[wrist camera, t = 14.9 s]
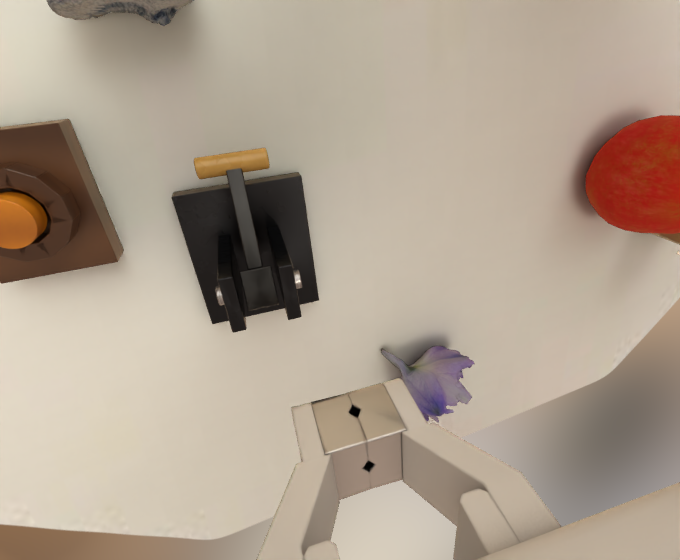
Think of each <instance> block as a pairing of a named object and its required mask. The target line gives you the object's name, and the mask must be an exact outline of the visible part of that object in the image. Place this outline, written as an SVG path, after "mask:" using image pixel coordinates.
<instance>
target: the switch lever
mask: <svg viewBox="0 0 680 560" xmlns="http://www.w3.org/2000/svg"><path fill="white" fill-rule="evenodd" d="M194 165H195V170H196V173H197V176H198V178H199V179H205V178H211V177H218V176H224V175H227V178H228V183H229V187H230V192H231V196H232V201H233V206H234V210H235V215H236V219H237V224H238V228H239V233H240V237H241V242H242V246H243V251H244V255H245V260H246V264H247V269H248V270H244V271H241V272H240V277H241V281H242V286H243V290H244V295H245V299H246V304H247V308H248V311H251V310H255V309H260V308H264V307H269V306H273V305H278V304H279V301H278V296H277V291H276V287H275V282H274V278H273V273H272V268H271V266H270V265H268V266H263V264H262V259H261V255H260V250H259V246H258V241H257V236H256V232H255V227H254V222H253V218H252V213H251V209H250V204H249V199H248V195H247V190H246V186H245V181H244V176H243V172H249V171H256V170H262V169H268V168H269V159H268V155H267V150H266V148H260V149H253V150H246V151H239V152H232V153H226V154H219V155H212V156H205V157H198V158H194Z"/></svg>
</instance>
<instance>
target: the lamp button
mask: <svg viewBox="0 0 680 560" xmlns="http://www.w3.org/2000/svg"><path fill="white" fill-rule="evenodd" d="M46 227H47V215H46V212H45V210H44V209H43V207H42V206H41V205H40V204H39V203H38V202H37V201H36V200H34V199H33V198H31V197H29V196H27V195H25V194H22V193H18V192H2V193H0V247H2V248H7V249H18V248H23V247H26V246H28V245H30V244H31V243H32V242H33V241H34V240H35V239H36V238H38V237H39V236H40V235H41V234H42V233H43V232H44V230H45V229H46Z"/></svg>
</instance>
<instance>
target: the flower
mask: <svg viewBox="0 0 680 560" xmlns="http://www.w3.org/2000/svg"><path fill="white" fill-rule="evenodd" d="M381 353H382V354H383V355H384V356H385V357H386V358H387V359H388V360H389V361H390V362H391V363H392V364H393V365H394V366H395V367H397V368H398V369H400V371H401V373H402V377H401V380H402V381H403V382H404V384H405V386H406V387H407V389H408V391H409V393H410V394H411V396H412V398H413V399H414V401H415V403H416V404H417V406H418V408H419V410H420V411H421V413H422V415H423V416H424V418H425V420H426V422H427V421H428V420H429V418H428V417H429V416H430V417H431V418H432V419H434V420H435V421H436V422H439V420H438V418H437V417H436V416H441V415H443V414H444V413H445V414H448V413H453V412H454V411H453V410H450V409H446V406H447V405H449V406H456V405H457V403H458V402H459V401H460V402H461V403H465V404H468V402H469V400H470V399H471V398H472V396H471V395H470V393H469V392H468V391H467V390H466V389H465V387H464V386H463V385H462V384H461V382H460V381H459V379H460V377H461V378H463V374H462V369H464V368H467V367H469V368H470V367H471V366H472V364H474V362H473V361H472V360H470V359H469V357H467V356H463V355H461V354H460V353H459V352H458V351H456V350H450V349H447V348H445V347H443V346H434V347H431V348H430V349H428V350H427V351H426V352H425V353H424V354H423V356H422V357H421V358H420V359H418V361H417V362H416V363H414V364H412V365H410V366H408V365H406V364H405V363H404V362H403V361H402V360H401V359H399V358H397V357H395V356H394V355H392V354H391V353H389V352H386V351H385V350H383V349H382V350H381Z"/></svg>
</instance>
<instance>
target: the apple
mask: <svg viewBox="0 0 680 560" xmlns="http://www.w3.org/2000/svg"><path fill="white" fill-rule="evenodd" d="M586 194H587V196H588V199H589V202H590V204H591V205H592V206H593V208H594V209H595V210H596V211H597V213H598V214H599V215H600V216H601V217H602V218H603V219H604V220H605V221H607V222H608V223H609V224H611V225H613V226H616V227H618V228H621V229H624V230H627V231H633V232H639V233H664V234H676V233H680V116H657V117H653V118H648V119H644V120H639V121H637V122H635V123H633V124H630V125H628V126H626V127H624V128H623V129H622V130H620V131H619V132H618V133H617V134H616V135H615V136H613V137H612V138H611V139H610V140H609V141H607V142H606V143H605V144H604V145H603V147H602V148H601V149H600V150H599V151H598V153H597V154H596V155H595V156H594V158H593V161H592V163H591V165H590V167H589V170H588V172H587V174H586Z"/></svg>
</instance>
